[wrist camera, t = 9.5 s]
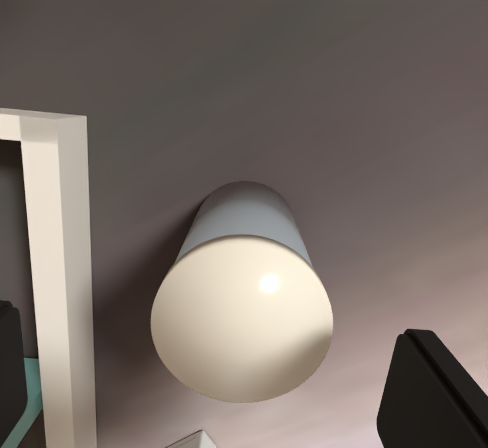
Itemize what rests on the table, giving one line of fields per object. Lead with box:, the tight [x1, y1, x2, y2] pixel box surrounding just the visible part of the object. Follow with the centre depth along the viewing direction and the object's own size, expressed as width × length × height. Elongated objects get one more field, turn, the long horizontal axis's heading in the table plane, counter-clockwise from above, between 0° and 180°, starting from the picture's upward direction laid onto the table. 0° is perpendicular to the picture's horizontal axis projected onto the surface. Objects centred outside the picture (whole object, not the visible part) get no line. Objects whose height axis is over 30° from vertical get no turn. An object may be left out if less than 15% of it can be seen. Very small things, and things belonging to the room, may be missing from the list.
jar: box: [151, 181, 333, 403], centre depth 16 cm, size 5×5×9 cm
